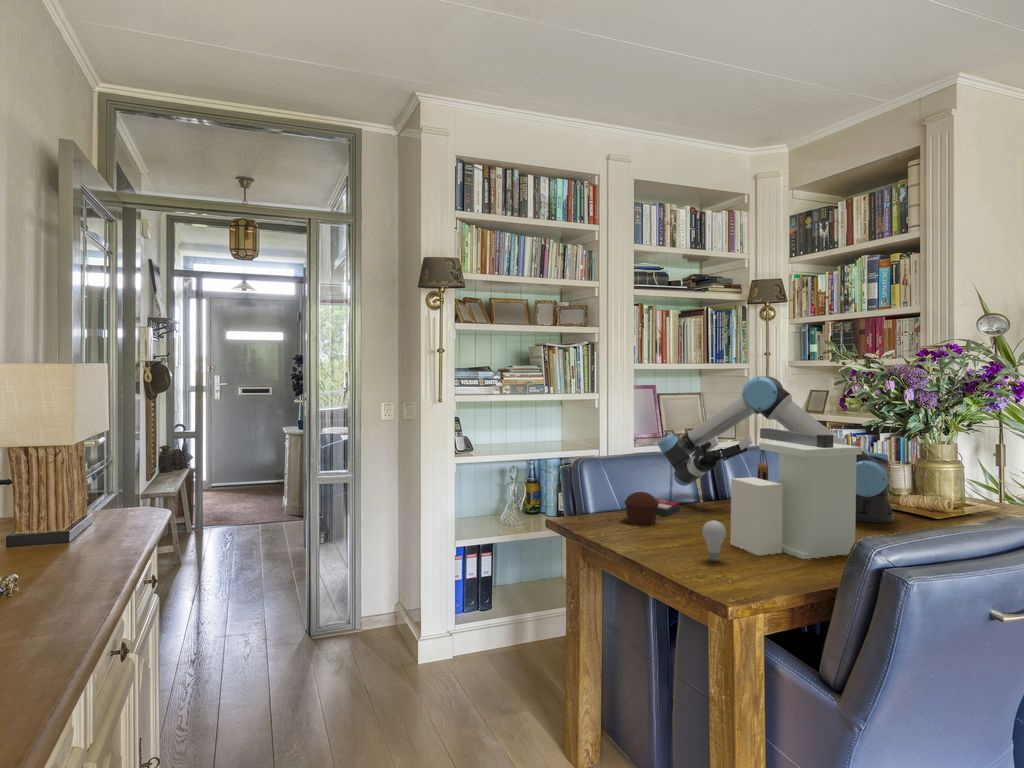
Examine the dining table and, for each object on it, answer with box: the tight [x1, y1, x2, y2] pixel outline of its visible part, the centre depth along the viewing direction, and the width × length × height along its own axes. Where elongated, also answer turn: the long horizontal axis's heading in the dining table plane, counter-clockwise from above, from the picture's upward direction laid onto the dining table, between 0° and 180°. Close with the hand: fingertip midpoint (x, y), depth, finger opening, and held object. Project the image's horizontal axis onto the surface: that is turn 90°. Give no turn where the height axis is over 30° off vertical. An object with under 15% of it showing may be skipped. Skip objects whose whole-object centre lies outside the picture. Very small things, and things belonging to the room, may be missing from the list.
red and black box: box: [655, 498, 681, 518], centre depth 232 cm, size 11×4×15 cm
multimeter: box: [757, 449, 769, 481], centre depth 257 cm, size 15×10×20 cm
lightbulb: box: [701, 519, 727, 562], centre depth 172 cm, size 6×6×11 cm
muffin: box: [624, 491, 659, 526], centre depth 215 cm, size 12×11×10 cm
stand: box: [758, 441, 863, 560], centre depth 184 cm, size 18×20×30 cm
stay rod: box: [759, 427, 833, 448], centre depth 190 cm, size 26×3×3 cm, turn 18°
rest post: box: [730, 476, 783, 557], centre depth 184 cm, size 12×8×20 cm, turn 18°
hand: (734, 439), depth 215 cm, fingers open, 13 cm apart
